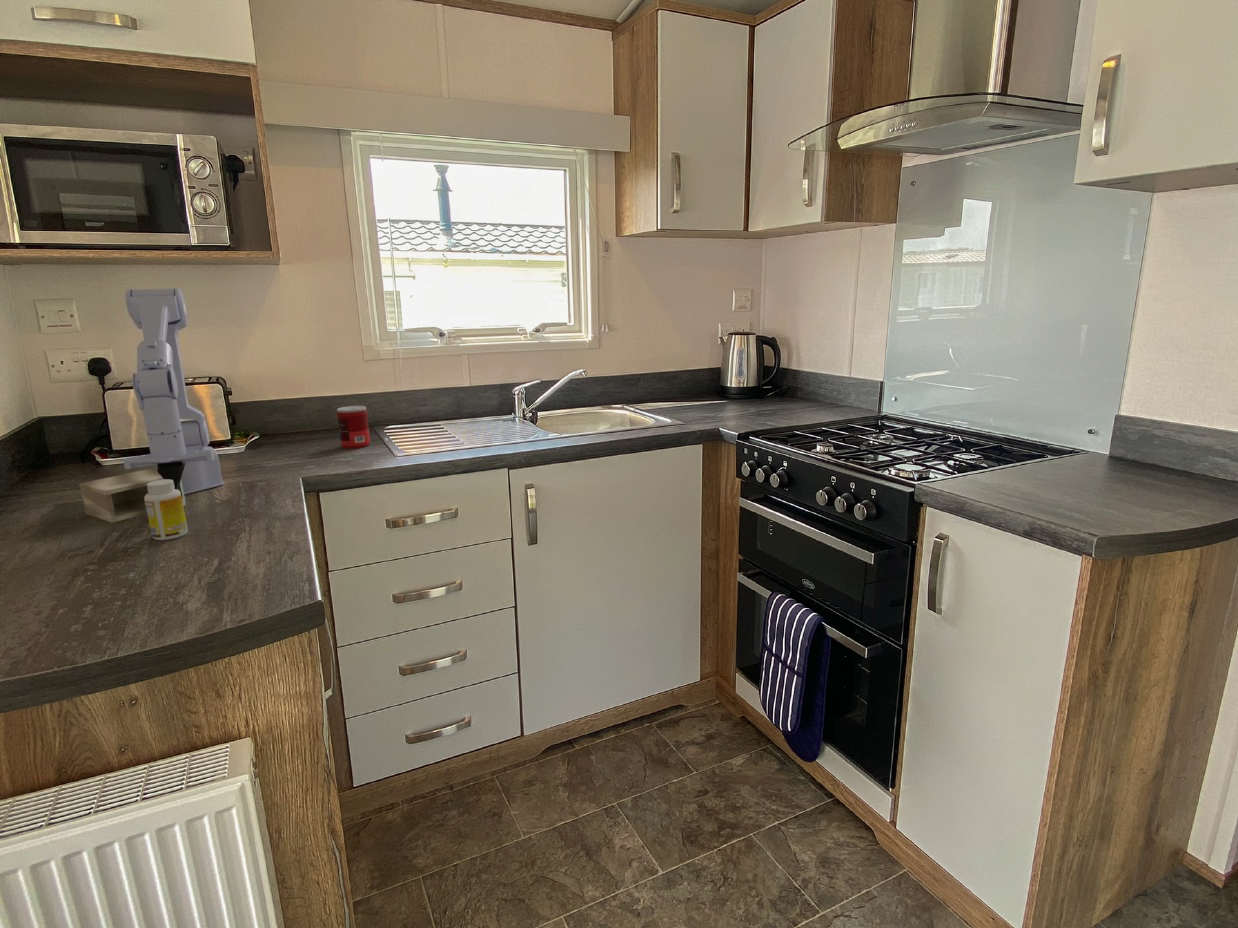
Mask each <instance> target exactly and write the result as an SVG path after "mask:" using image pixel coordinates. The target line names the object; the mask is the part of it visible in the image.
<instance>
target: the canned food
mask: <svg viewBox="0 0 1238 928" xmlns="http://www.w3.org/2000/svg"><path fill="white" fill-rule="evenodd" d="M367 411H368V410H367V407H366V406H364V405H350V406H349V405H348V406H342V407H339V408H337V409H336V415H337V422H338V424H337V425H338V432H339V439H340V445H341V447H342V448H343V449H347V450H354V449H355V450H356V449H362V448H366V447H368V446H370V443H371V438H370V430H369V429H370V428H369V422H368V421H369V420H368V419H369V418H368V412H367Z"/></svg>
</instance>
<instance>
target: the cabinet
mask: <svg viewBox="0 0 1238 928" xmlns="http://www.w3.org/2000/svg"><path fill="white" fill-rule="evenodd" d="M156 480H164V479H163V478H162V476H161V475H160V474H159V473H158V471H157V469H151V468H148V469H142V470H138V471H134V472H128V473H124V474H119V475H118V474H117V475H115V476H114V475H113V476H108V477H104V478H98V479H96V480H95V479H94V480H91V481H90V480H89V481H85V482H81V483H79V488H80V489H79V490H80V494H81V499H82V503H83V506H84V507H83V508H84V512H85V515H88V516H90V517H94V518H95V519H96V518H97V519H99V520H103V521H106V522H109V523H116V522H119V521H123V520H128V519H132V518H135V517H139V516H142V515H143V516H144V515H147V510H146V505H145V501H144V497H145V495H146V494H148V488H147V484H148V483H149V482H152V481H156Z"/></svg>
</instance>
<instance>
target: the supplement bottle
mask: <svg viewBox="0 0 1238 928" xmlns="http://www.w3.org/2000/svg"><path fill="white" fill-rule="evenodd" d="M147 488H148V494H146V495H145V497H144V501H145V505H146V510H147V514H146V515H147V518H148V523H149V529H150V533H151V537H152V538H153V539H154V540H156V541H169V540H174V539H175V540H176V539H178V538H181V537H183V536H185V535H186V534H187V533H188V531H189V529H188V523H187V518H186V514H185V506H184V507H183V502H182V497H181V492H180V491H179V490H177V489H175V487H174V482H173V480H170V479H164V480H156V481H152V482H149V483H148V484H147Z"/></svg>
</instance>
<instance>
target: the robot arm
mask: <svg viewBox="0 0 1238 928" xmlns="http://www.w3.org/2000/svg"><path fill="white" fill-rule="evenodd" d="M124 298H125V299H124V300H125V305H126V308H127V309H126V310H127V313H128V315H129V317H130V318H131V319H132V322H133V323H134V325H136V327H137V329H139V330H142V336H143V340H142V341H140V342H139V343H138V345H137V347H136V373H135V372H133V373H132V376H131V377H132V378H131V379H132V388H133V392H134V395H135V397H136V399H137V402H138V403H137V404H138V408H139V410H140V411H142V417H143V422H144V427H145V432H146V437H147V441H148V446H149V447H148V448H149V451H150V453H149V454H144V455H143V454H142V455H135V456H129V457H128V456H127V457H125V458H124V459H123V460H122V461H123V466H124V470H132V469H134V468H146V467H155V466H157V469H156V470H157V471H158V473H159V474H160V475H161V476H162V478H163V479H170V480H173V482H174V487H175V489H177V490H179V491H180V492H181V497H182V491H181V487H180V481H181V480H182V486H183V491H184V495H187V494H191V493H192V494H193V493H196V492H200V491H205V490H208V489H211V488H216V487H221V486H224V485H225V484H226V483H225V482H224V480H223V476H222V471H221V469H222V468H221V464H220V459H219V455H218V452H217V451H216V450H215V448H213V447H212V446H208V445H209V444H210V435H209V429H208V424H207V421H206V417H205V414H204V413H203V411H201V410H199V409H197V408H195V407H193V406H191V405H190V404H189V401H188V394H187V389H186V384H185V383H186V382H185V376H184V371H183V364H182V359H181V353H180V352H181V351H180V346H179V334H180V330H183V329H184V328H187V326H188V324H187V323H188V316H187V309H186V301H185V296H184V294H183V290H182V289H180V288H179V287H175V288H127V290H126V291H125V293H124ZM188 419H189V420H188ZM191 419H192V420H191ZM182 498H183V497H182Z"/></svg>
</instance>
